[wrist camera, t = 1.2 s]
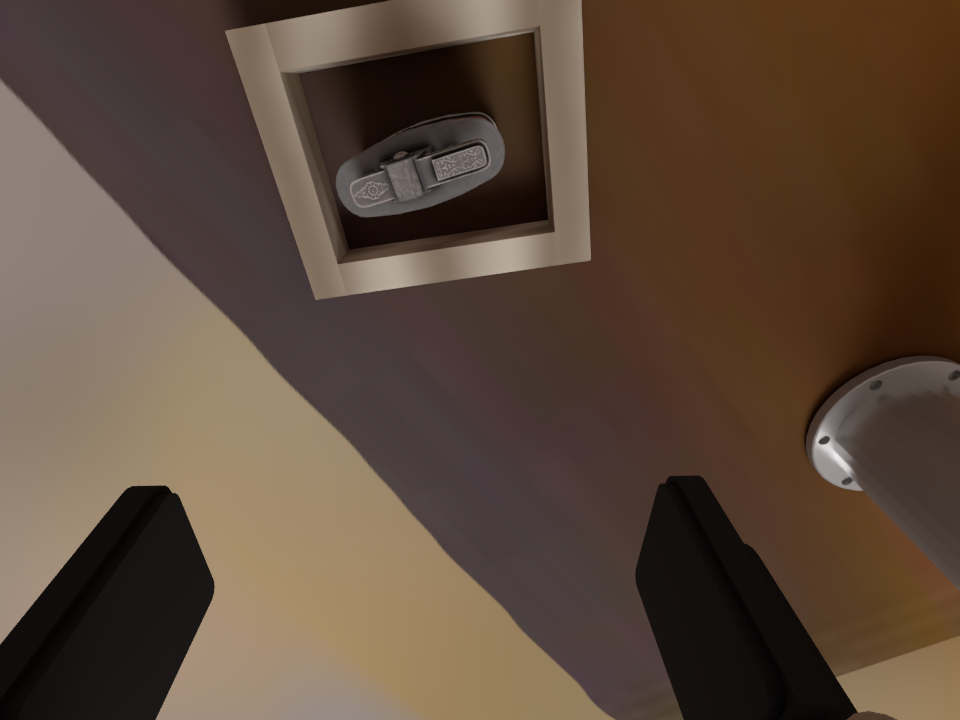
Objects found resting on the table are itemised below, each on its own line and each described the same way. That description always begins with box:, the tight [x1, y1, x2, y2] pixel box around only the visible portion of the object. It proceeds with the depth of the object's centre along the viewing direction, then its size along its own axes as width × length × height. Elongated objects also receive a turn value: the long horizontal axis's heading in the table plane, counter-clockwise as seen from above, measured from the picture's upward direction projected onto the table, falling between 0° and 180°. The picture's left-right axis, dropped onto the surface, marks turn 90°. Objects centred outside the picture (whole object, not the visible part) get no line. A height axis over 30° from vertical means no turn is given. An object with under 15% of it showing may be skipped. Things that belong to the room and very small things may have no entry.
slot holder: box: [225, 0, 591, 300], centre depth 27 cm, size 17×14×3 cm
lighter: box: [336, 111, 505, 217], centre depth 24 cm, size 8×3×10 cm, turn 107°
